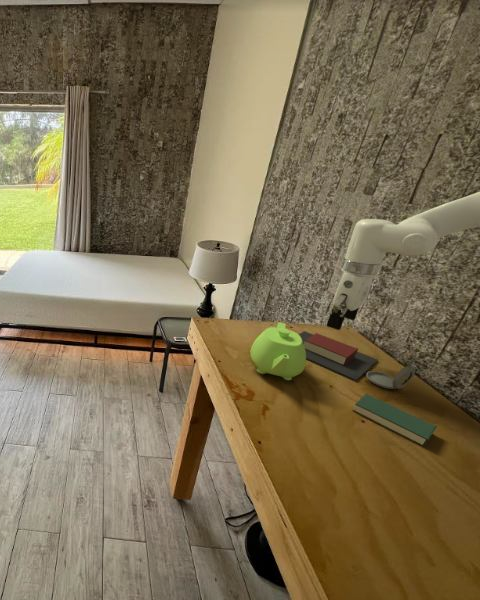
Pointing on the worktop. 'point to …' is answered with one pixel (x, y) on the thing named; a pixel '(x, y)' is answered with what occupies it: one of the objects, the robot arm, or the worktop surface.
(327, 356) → the top book
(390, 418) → the bottom book
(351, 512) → the worktop surface
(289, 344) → the teapot
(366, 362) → the felt mat
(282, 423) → the worktop surface
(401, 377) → the pocket watch
